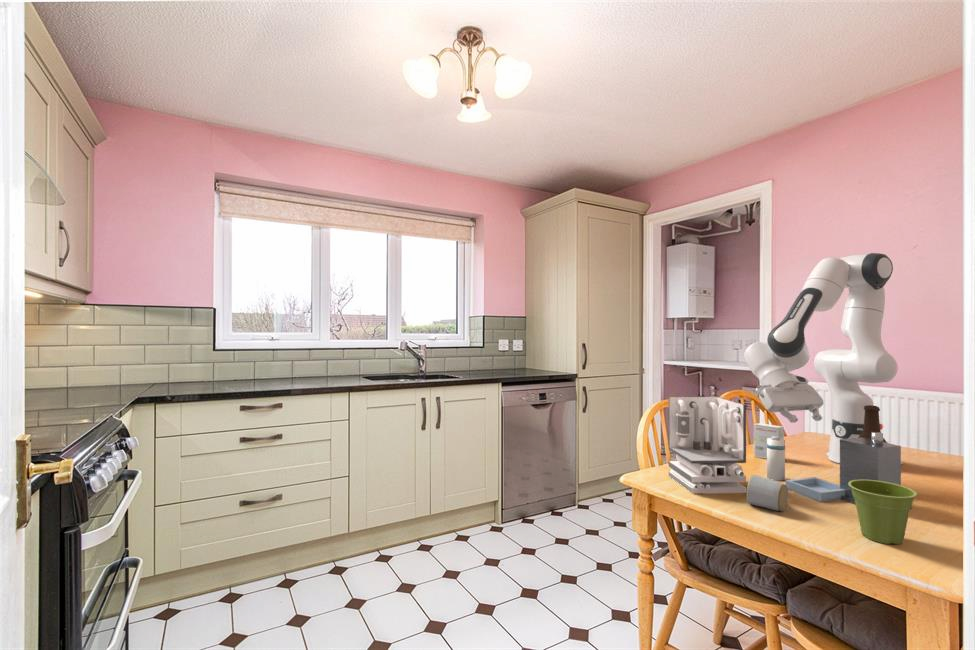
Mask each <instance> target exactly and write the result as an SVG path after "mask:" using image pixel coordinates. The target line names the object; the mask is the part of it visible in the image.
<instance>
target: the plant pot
mask: <svg viewBox="0 0 975 650" xmlns="http://www.w3.org/2000/svg"><path fill="white" fill-rule="evenodd" d="M848 485H849V486H850V487H851V489H852V493H853V497H854V498H855V503H856V505H855V507H856V512H857V517H858V523H859V526H860V531H861V534H862V535H863V536H865V538H867V539H869V540H871V541H873V542H878V543H880V544H886V545H887V544H888V545H889V544H894V545H900V544H901V545H902V544H903V543H904V540H905V534H906V530H907V524H908V519H909V515H910V510H911V509H910V507H911V508H912V505H913V503H914V502H913V501H914V498H916V497H918V496H917V495H918V494H917V492H916V491H915V490H913V489H912V488H909V487H906V486H904V485H902V484H901V485H897V484H893V483H889V482H883V481H877V480H852V481H849V482H848Z"/></svg>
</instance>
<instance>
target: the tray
mask: <svg viewBox="0 0 975 650" xmlns="http://www.w3.org/2000/svg"><path fill="white" fill-rule="evenodd" d="M785 485H786V486H787V488H788V491H790V492H792V491H793V493H795V494H799V495H800V494H801V496H804V497H806V498H810V499H811V500H813V501H817V502H819V503H827V502H834V501H842V500H841V496H845V490H844V489H840V484H838V483H835V482H831V481H829V480H825V479H822V478H820V477H815V476H813V477H805V478H795V479H794V478H793V479H785Z"/></svg>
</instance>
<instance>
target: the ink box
mask: <svg viewBox="0 0 975 650" xmlns="http://www.w3.org/2000/svg"><path fill="white" fill-rule="evenodd" d="M784 432H785V429H784V426H782V425H781V426H780V425H775V424H768V423H760V422H758V423H754V424H753V457H754V458H757V457H759V459H763V458H765V459H764V460H767V438H771V437H772V436H777V437H780V439H783V440H785V438H784V437H785V435H784Z"/></svg>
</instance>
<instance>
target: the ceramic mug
mask: <svg viewBox="0 0 975 650" xmlns="http://www.w3.org/2000/svg"><path fill="white" fill-rule="evenodd" d="M746 486H747V487H746V500H747V502H748V504H749V505H752V506H755V507H760V508H764V509H768V510H770V511H771V510H772V511H774V512H775V511H776V512H783V511H785V510H786V508H787V506H788V502H789V495H790V494H789V491H790V490H788V488H787V486H786V483H785V484H784V483H783V482H782V481H776V480H771V479H768V478H767V477H764V476H759V475H756V474H753V475H751V477H749V479H748V483H747V485H746Z"/></svg>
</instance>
